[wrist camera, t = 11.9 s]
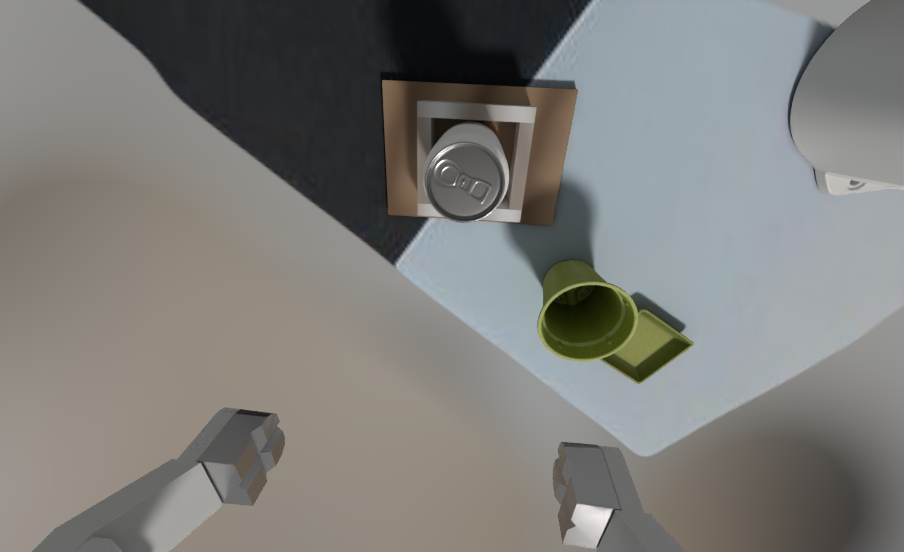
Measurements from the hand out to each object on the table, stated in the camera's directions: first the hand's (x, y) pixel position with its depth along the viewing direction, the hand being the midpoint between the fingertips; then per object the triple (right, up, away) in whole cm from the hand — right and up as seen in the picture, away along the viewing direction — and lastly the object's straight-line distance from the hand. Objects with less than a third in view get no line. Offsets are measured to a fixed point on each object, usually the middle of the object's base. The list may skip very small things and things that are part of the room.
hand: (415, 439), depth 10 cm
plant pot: (+15, +4, +31) cm, 35 cm away
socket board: (+3, +17, +26) cm, 31 cm away
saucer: (+25, -3, +35) cm, 43 cm away
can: (+3, +17, +25) cm, 30 cm away
